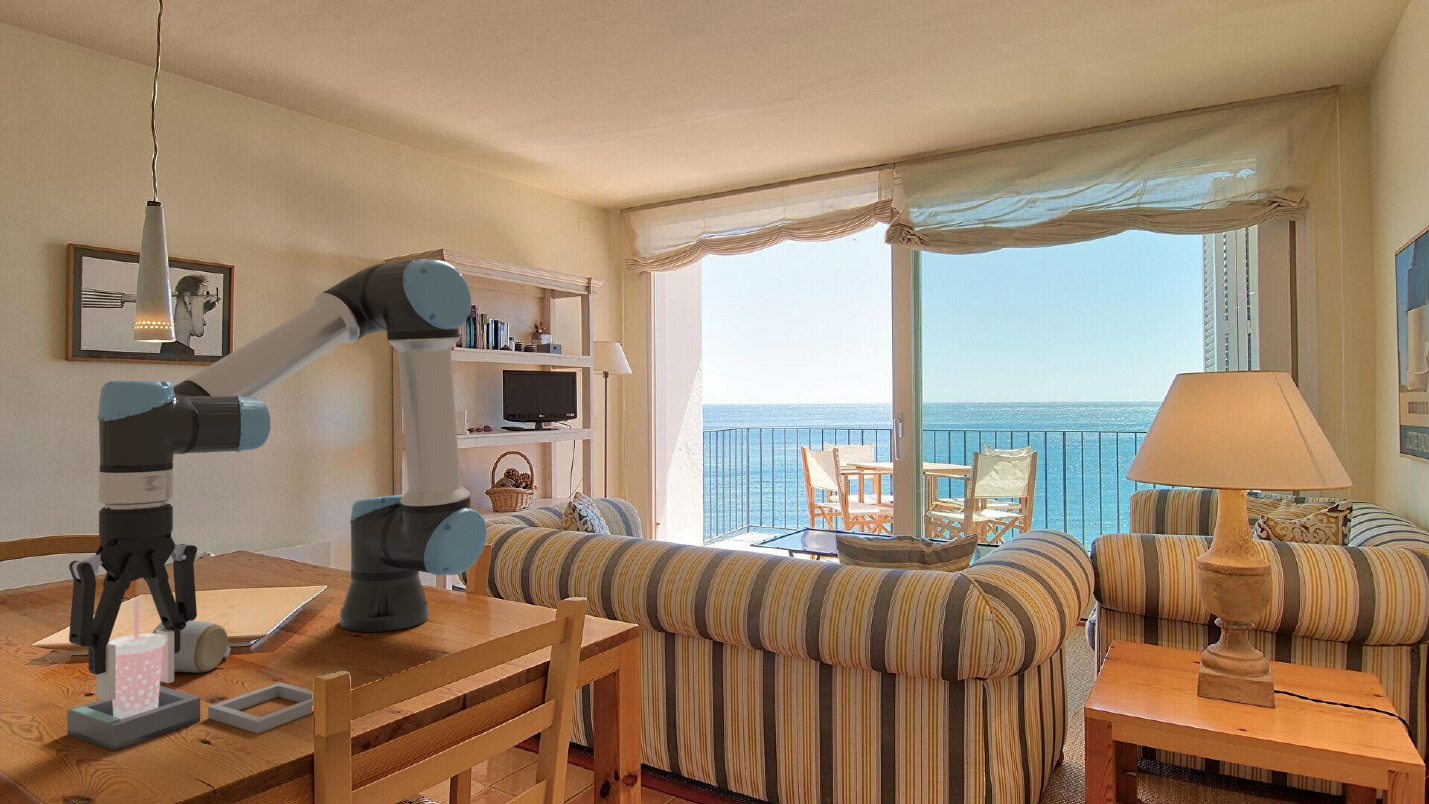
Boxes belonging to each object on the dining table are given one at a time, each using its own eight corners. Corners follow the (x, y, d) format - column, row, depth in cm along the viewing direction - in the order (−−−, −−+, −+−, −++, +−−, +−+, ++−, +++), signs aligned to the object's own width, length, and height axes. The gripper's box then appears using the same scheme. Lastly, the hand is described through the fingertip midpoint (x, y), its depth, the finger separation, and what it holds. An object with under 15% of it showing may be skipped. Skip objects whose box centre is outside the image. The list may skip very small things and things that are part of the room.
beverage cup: (113, 706, 103) (113, 596, 103) (170, 700, 105) (170, 592, 105) (99, 725, 97) (99, 608, 97) (159, 717, 100) (160, 604, 100)
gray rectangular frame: (280, 692, 113) (280, 682, 113) (328, 706, 109) (328, 695, 109) (208, 718, 104) (208, 706, 104) (257, 733, 100) (257, 721, 100)
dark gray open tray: (154, 706, 108) (154, 682, 108) (200, 720, 103) (200, 695, 103) (67, 734, 99) (67, 708, 99) (113, 751, 95) (113, 724, 94)
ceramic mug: (198, 680, 118) (199, 627, 118) (144, 678, 118) (145, 625, 119) (245, 657, 129) (246, 609, 129) (195, 655, 129) (196, 607, 129)
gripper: (63, 516, 91) (63, 722, 91) (230, 497, 108) (229, 671, 108) (29, 511, 94) (28, 709, 94) (196, 494, 111) (195, 661, 111)
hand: (136, 688), depth 101 cm, fingers closed on beverage cup, 6 cm apart
